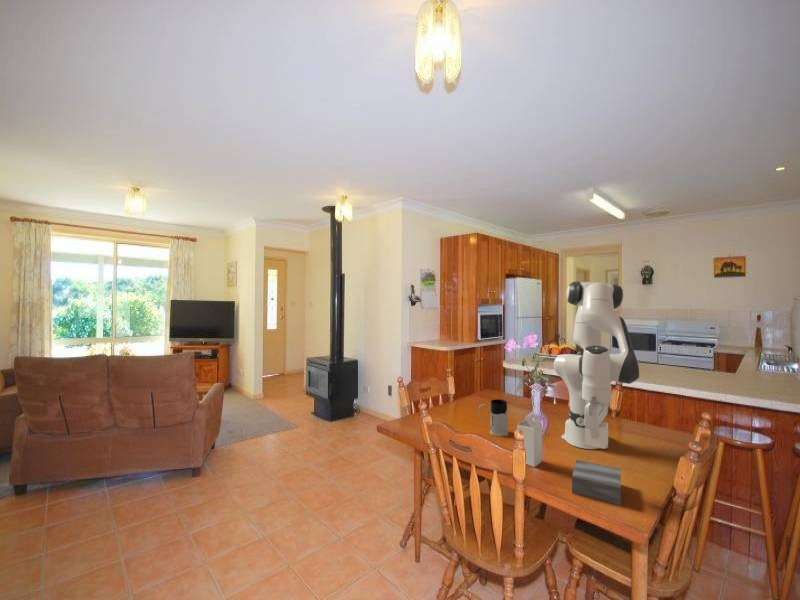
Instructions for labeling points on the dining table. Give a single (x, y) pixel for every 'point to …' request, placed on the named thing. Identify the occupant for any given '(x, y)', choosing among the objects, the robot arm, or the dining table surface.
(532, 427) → the milk carton
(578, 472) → the slate box
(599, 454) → the dining table surface
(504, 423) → the grey mug
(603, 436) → the ivory block
